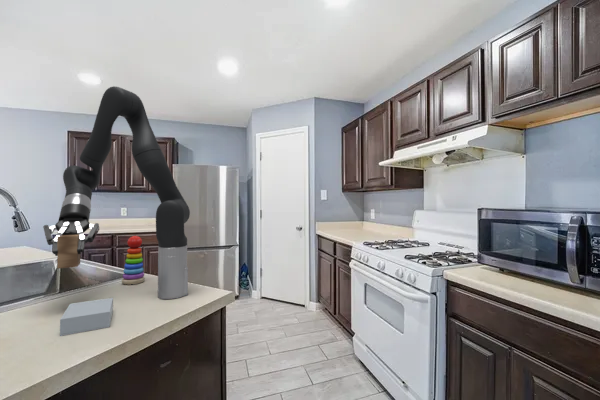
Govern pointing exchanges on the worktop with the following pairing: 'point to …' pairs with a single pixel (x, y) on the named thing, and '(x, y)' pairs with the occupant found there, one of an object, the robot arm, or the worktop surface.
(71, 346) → the worktop surface
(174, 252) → the robot arm
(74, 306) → the slate slab
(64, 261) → the walnut block
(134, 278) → the stacking toy
